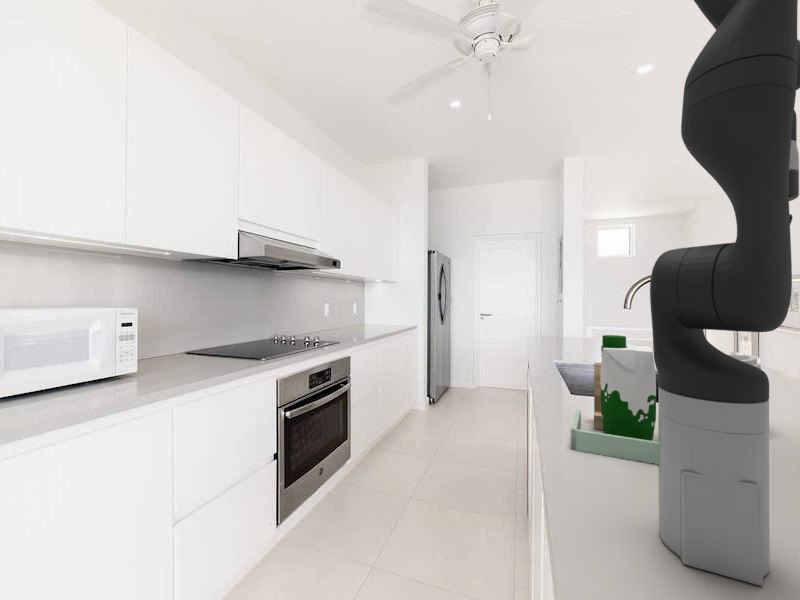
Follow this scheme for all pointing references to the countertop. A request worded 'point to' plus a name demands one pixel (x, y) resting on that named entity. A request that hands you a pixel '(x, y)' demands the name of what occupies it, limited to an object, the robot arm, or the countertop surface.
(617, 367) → the soya milk
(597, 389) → the brown box
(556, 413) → the countertop surface
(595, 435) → the tray
